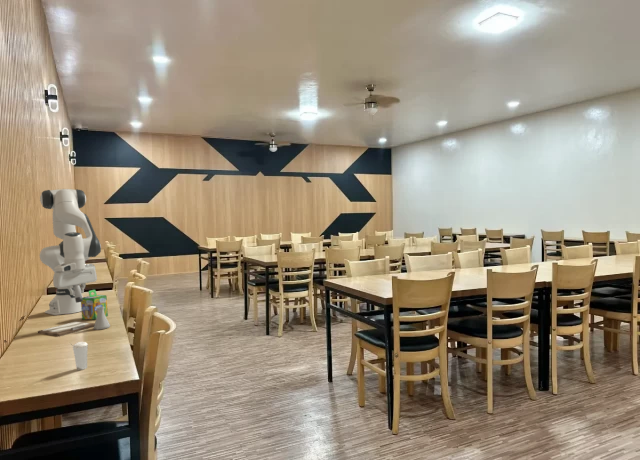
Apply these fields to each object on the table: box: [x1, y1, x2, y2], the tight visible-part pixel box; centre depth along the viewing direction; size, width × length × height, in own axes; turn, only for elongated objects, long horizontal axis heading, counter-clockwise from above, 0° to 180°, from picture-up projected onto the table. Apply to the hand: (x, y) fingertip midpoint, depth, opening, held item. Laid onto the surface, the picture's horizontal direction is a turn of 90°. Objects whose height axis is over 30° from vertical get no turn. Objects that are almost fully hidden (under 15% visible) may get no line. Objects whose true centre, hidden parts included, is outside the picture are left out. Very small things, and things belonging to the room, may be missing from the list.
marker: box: [73, 284, 83, 303], centre depth 212 cm, size 3×3×12 cm
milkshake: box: [70, 341, 89, 371], centre depth 150 cm, size 4×5×10 cm
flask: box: [92, 307, 111, 331], centre depth 207 cm, size 7×7×10 cm
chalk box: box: [81, 289, 109, 321], centre depth 231 cm, size 9×9×15 cm
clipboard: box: [37, 320, 95, 337], centre depth 208 cm, size 17×19×2 cm
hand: (77, 293), depth 212 cm, fingers closed on marker, 3 cm apart
